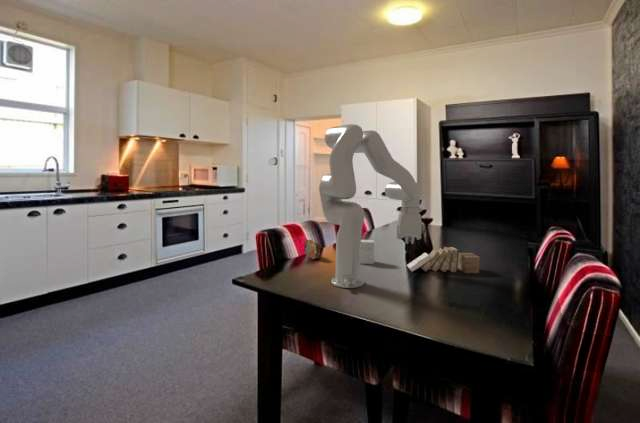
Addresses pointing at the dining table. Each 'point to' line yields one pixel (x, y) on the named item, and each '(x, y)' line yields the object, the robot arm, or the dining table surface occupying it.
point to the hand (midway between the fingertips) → (408, 252)
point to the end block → (468, 262)
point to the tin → (312, 249)
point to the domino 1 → (418, 262)
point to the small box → (367, 252)
